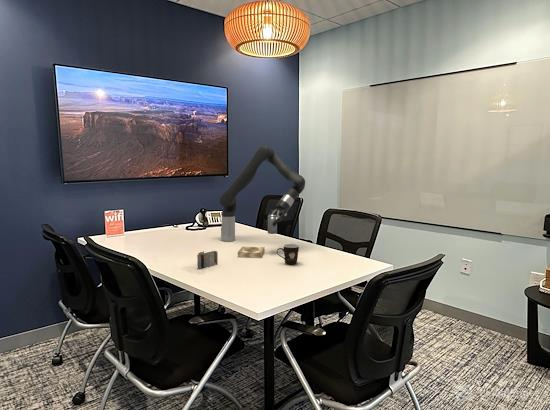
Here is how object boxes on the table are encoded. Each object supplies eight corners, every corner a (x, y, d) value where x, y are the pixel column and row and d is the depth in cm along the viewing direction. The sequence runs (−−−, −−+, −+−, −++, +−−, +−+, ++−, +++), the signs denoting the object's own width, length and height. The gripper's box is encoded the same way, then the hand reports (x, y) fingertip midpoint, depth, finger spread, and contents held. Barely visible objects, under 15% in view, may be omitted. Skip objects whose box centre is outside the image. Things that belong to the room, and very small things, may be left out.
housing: (267, 233, 220) (267, 215, 219) (268, 231, 226) (268, 214, 224) (276, 234, 220) (276, 215, 218) (277, 232, 225) (277, 214, 224)
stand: (237, 257, 215) (237, 251, 214) (242, 251, 229) (242, 245, 228) (261, 257, 214) (261, 252, 213) (264, 251, 227) (264, 246, 227)
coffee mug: (300, 262, 205) (300, 244, 204) (296, 266, 197) (296, 248, 196) (280, 260, 209) (280, 243, 208) (275, 264, 201) (275, 246, 200)
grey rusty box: (201, 270, 191) (200, 251, 190) (197, 269, 193) (197, 250, 192) (218, 265, 199) (218, 248, 198) (214, 264, 201) (214, 247, 200)
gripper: (274, 198, 230) (259, 219, 224) (290, 200, 219) (274, 222, 213) (280, 206, 234) (266, 226, 228) (296, 208, 223) (281, 230, 217)
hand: (270, 224), depth 221 cm, fingers closed on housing, 5 cm apart
